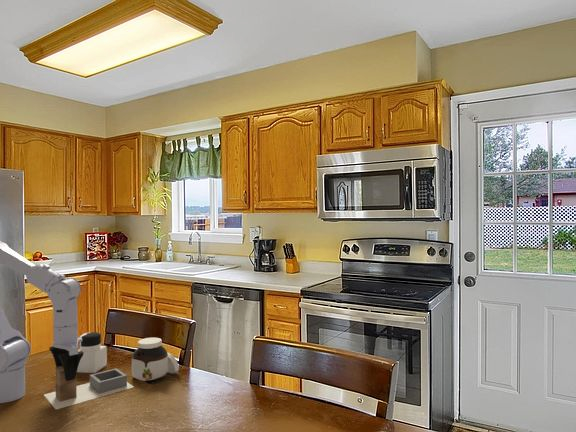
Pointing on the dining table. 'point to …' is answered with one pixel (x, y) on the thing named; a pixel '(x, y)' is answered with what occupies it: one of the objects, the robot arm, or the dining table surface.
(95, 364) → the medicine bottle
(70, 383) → the rail post
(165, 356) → the spread jar
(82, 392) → the board
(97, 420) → the dining table surface
